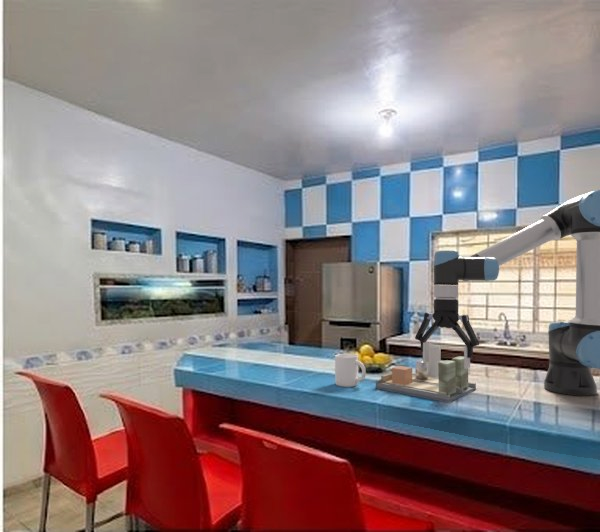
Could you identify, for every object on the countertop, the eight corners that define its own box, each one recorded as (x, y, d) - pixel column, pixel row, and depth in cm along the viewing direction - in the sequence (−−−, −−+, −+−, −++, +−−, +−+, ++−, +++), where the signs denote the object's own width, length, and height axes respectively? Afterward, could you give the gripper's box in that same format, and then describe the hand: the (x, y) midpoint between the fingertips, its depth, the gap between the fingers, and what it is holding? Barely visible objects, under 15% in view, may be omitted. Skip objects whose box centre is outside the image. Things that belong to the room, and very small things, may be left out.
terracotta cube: (412, 382, 148) (412, 367, 148) (405, 384, 144) (405, 369, 144) (399, 380, 151) (399, 365, 151) (392, 382, 147) (391, 367, 147)
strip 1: (456, 392, 138) (456, 360, 139) (446, 396, 133) (446, 364, 133) (392, 380, 154) (392, 353, 155) (381, 384, 149) (381, 355, 149)
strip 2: (469, 386, 146) (468, 356, 146) (460, 390, 141) (459, 359, 141) (406, 376, 162) (406, 349, 162) (396, 379, 156) (396, 352, 157)
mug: (371, 385, 152) (371, 356, 152) (358, 390, 145) (358, 359, 146) (343, 380, 159) (343, 352, 160) (330, 384, 153) (330, 355, 154)
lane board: (475, 389, 146) (475, 381, 147) (448, 402, 130) (448, 393, 130) (407, 377, 164) (407, 370, 164) (375, 388, 148) (375, 380, 148)
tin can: (430, 378, 154) (430, 361, 154) (424, 380, 151) (424, 363, 151) (419, 376, 157) (418, 360, 157) (413, 378, 154) (413, 361, 154)
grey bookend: (436, 379, 161) (436, 347, 162) (420, 377, 166) (419, 345, 166) (446, 375, 169) (446, 344, 170) (430, 372, 173) (430, 343, 174)
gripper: (490, 299, 132) (490, 369, 131) (415, 297, 149) (415, 358, 148) (481, 300, 127) (481, 372, 126) (405, 297, 143) (404, 361, 143)
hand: (445, 365), depth 137 cm, fingers open, 13 cm apart
